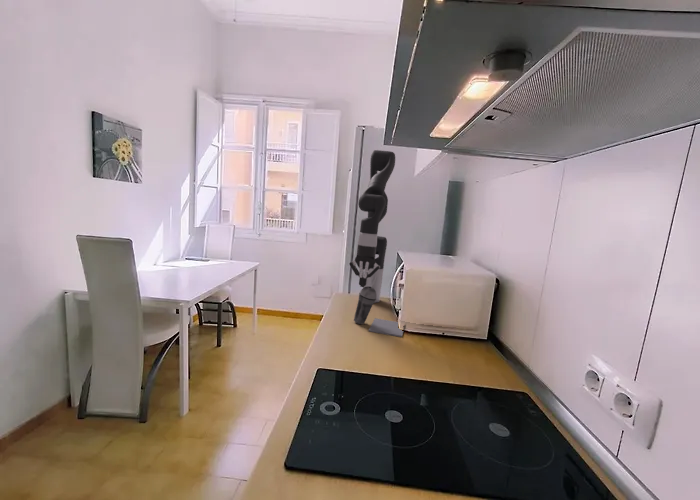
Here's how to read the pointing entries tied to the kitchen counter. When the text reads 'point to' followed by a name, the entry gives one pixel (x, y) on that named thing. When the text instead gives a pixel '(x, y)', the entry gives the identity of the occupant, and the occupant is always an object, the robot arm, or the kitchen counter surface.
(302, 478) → the kitchen counter surface
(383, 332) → the rubber mat
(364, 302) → the beverage cup
